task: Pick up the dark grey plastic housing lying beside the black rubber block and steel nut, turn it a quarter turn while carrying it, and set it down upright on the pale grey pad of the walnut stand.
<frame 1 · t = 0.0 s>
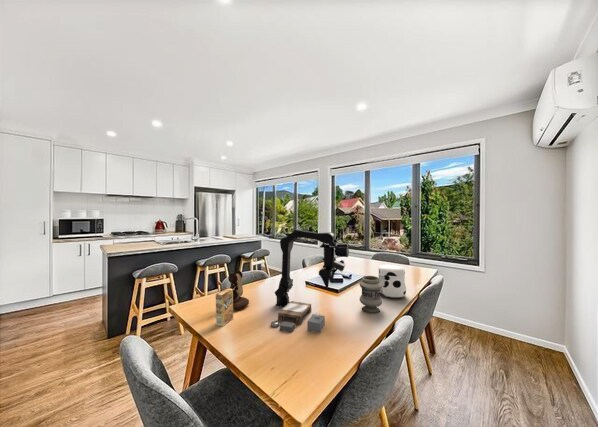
hand: (329, 284, 126), 15 cm above the table, tool pointing down, fingers open, 9 cm apart
rubber block: (287, 329, 109), on the table
brown wooden figurine: (236, 306, 135), on the table
candy box: (224, 322, 116), on the table
steel nut: (275, 325, 112), on the table
housing: (316, 328, 110), on the table
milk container: (391, 295, 150), on the table
apothecary jar: (371, 310, 128), on the table
walnut stand: (295, 315, 122), on the table
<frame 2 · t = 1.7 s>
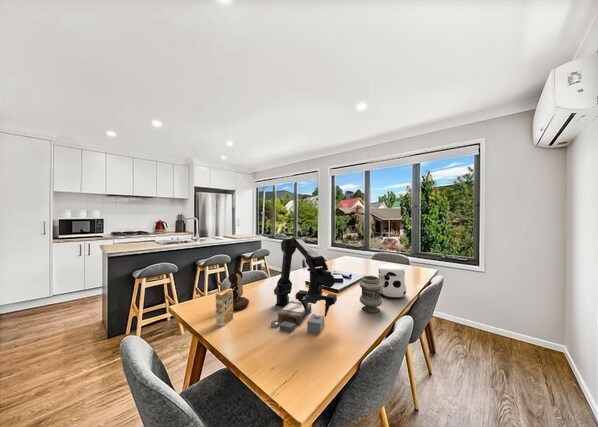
hand: (316, 315, 110), 6 cm above the table, tool pointing down, fingers open, 9 cm apart
nothing on the table moved.
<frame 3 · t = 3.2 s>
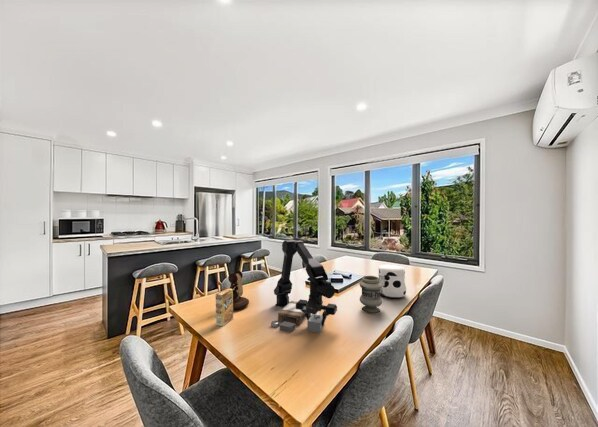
hand: (316, 324, 110), 1 cm above the table, tool pointing down, fingers closed on housing, 6 cm apart
housing: (316, 327, 109), on the table, touching gripper
everything else where it was.
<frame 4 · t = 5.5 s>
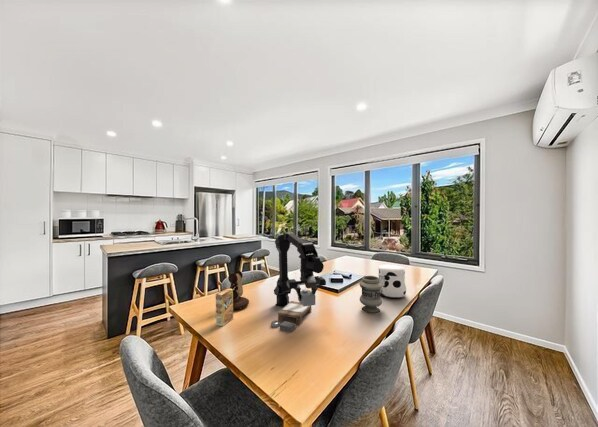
hand: (306, 299, 115), 11 cm above the table, tool pointing down, fingers closed on housing, 6 cm apart
housing: (306, 302, 115), point 10 cm above the table, touching gripper
everything else where it was.
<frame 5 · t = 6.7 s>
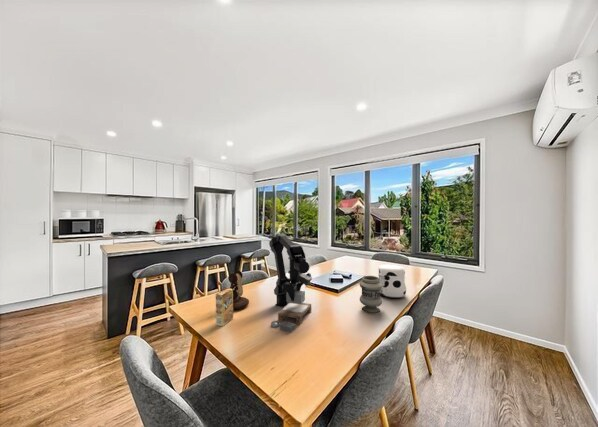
hand: (295, 298, 122), 9 cm above the table, tool pointing down, fingers closed on housing, 6 cm apart
housing: (295, 300, 122), point 8 cm above the table, touching gripper
everything else where it was.
when the fingers open (7 cm above the table, at t = 7.8 s): housing drops 2 cm, resting on walnut stand.
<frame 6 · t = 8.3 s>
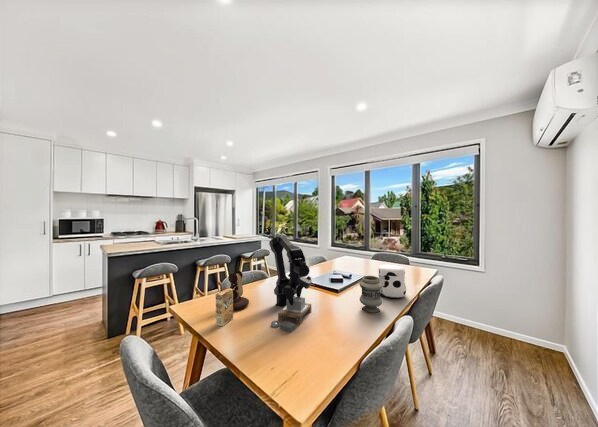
hand: (295, 301, 122), 7 cm above the table, tool pointing down, fingers open, 9 cm apart
housing: (295, 307, 122), point 4 cm above the table, touching walnut stand
everything else where it was.
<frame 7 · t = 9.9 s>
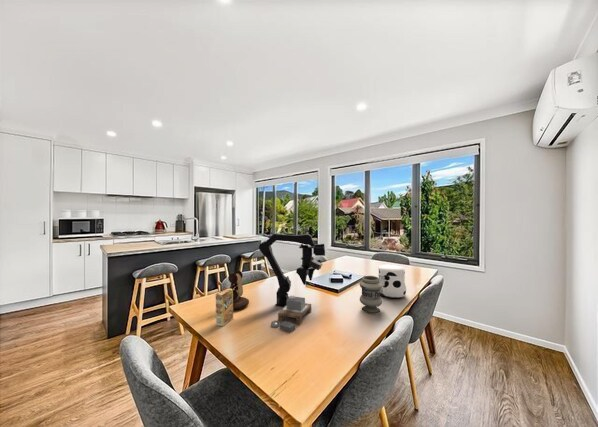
hand: (307, 282, 136), 13 cm above the table, tool pointing down, fingers open, 9 cm apart
nothing on the table moved.
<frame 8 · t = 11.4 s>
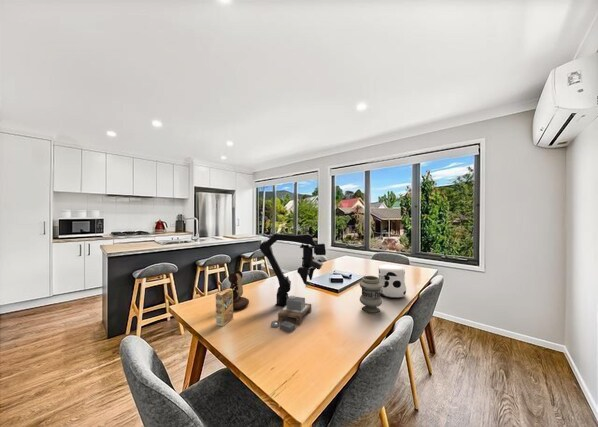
hand: (308, 281, 137), 13 cm above the table, tool pointing down, fingers open, 9 cm apart
nothing on the table moved.
at the end: housing inside the target area on the walnut stand (0.2 cm from its centre), point 4.3 cm above the walnut stand's base; housing tilted 0°; the gripper is holding nothing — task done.
